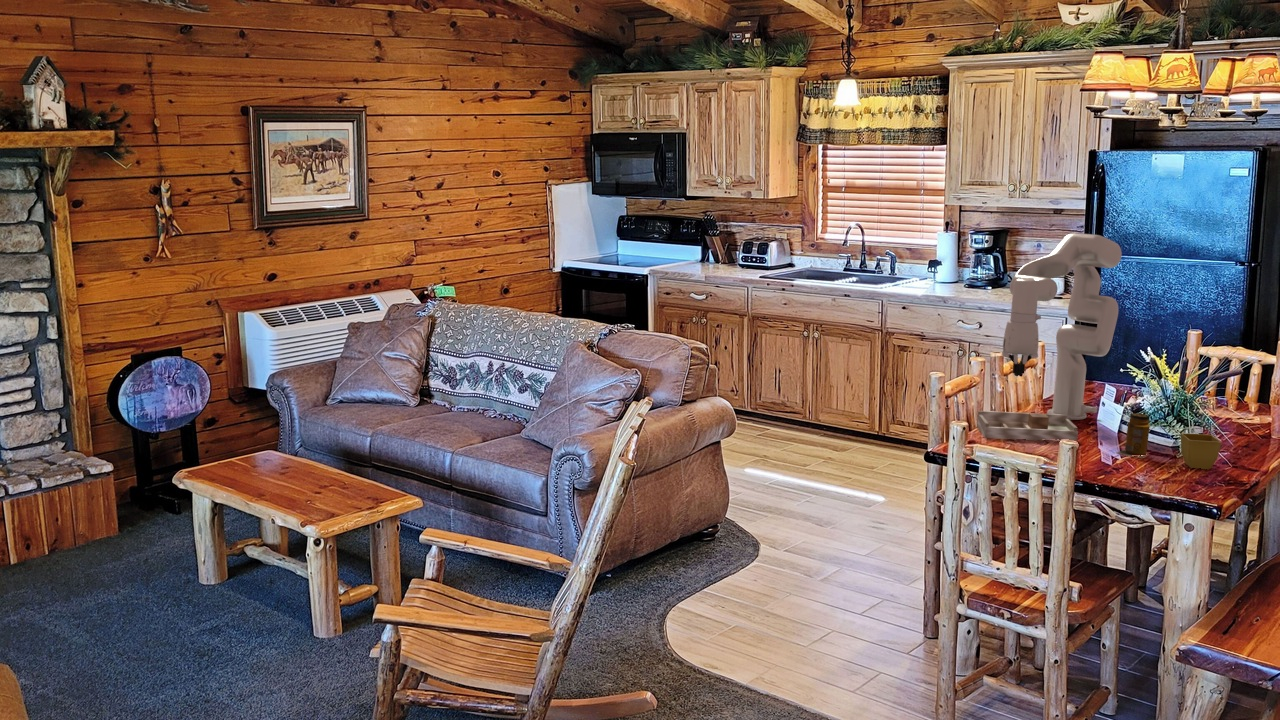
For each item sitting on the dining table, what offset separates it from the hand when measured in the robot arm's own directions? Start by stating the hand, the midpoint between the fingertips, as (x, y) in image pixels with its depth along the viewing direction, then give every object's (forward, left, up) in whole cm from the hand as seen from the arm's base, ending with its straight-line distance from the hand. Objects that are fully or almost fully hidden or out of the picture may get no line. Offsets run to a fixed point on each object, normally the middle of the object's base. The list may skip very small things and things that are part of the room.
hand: (1018, 375), depth 356 cm
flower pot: (-46, +29, -19) cm, 58 cm away
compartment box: (-4, 0, -19) cm, 20 cm away
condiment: (-32, +17, -19) cm, 41 cm away
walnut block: (-8, 0, -17) cm, 18 cm away
